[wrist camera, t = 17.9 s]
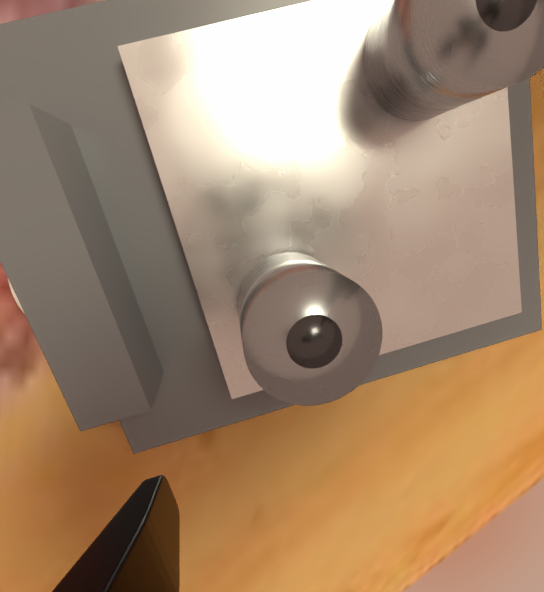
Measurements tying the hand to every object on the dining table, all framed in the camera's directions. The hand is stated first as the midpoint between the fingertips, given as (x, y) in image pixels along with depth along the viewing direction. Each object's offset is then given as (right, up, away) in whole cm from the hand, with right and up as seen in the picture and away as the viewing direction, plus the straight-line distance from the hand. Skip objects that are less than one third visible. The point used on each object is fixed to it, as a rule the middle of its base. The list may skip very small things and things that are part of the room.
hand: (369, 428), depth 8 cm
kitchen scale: (-1, +8, +11) cm, 14 cm away
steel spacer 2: (+4, +13, +8) cm, 16 cm away
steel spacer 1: (-1, +3, +10) cm, 10 cm away
